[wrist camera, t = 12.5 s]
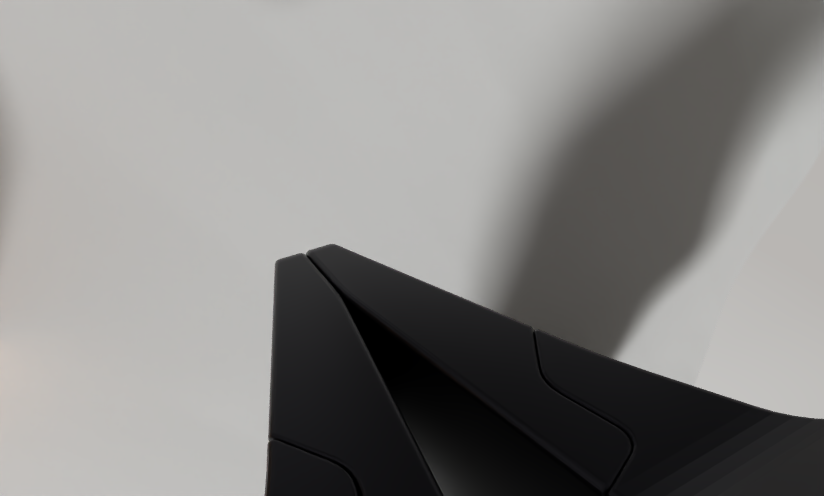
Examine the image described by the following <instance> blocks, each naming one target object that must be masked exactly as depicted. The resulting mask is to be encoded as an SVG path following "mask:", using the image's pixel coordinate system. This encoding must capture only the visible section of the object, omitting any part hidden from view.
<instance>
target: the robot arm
mask: <svg viewBox="0 0 824 496" xmlns="http://www.w3.org/2000/svg"><path fill="white" fill-rule="evenodd" d="M268 439H269V443H268V449H267V474H266V486H265V496H824V419H814V418H806V417H798V416H792V415H787V414H782V413H778V412H773V411H770V410H766V409H763V408H760V407H756V406H753V405H750V404H747V403H744V402H741V401H738V400H734V399H731V398H728V397H725V396H722V395H719V394H716V393H713V392H710V391H707V390H704V389H700V388H697V387H695V386H692V385H689V384H686V383H682V382H679V381H676V380H673V379H670V378H667V377H664V376H661V375H658V374H655V373H652V372H649V371H646V370H643V369H640V368H637V367H634V366H632V365H629V364H626V363H623V362H620V361H617V360H614V359H611V358H609V357H606V356H603V355H600V354H598V353H595V352H593V351H590V350H587V349H585V348H582V347H580V346H577V345H575V344H572V343H570V342H567V341H565V340H562V339H560V338H557V337H555V336H553V335H550V334H548V333H545V332H543V331H541V330H538V329H537V330H535V331H534V332H533V328H532V327H531V326H528V325H526V324H524V323H521V322H519V321H516V320H514V319H512V318H509V317H507V316H504V315H502V314H500V313H497V312H495V311H493V310H490V309H488V308H485V307H483V306H481V305H478V304H476V303H473V302H471V301H469V300H466V299H464V298H462V297H459V296H457V295H454V294H452V293H450V292H447V291H445V290H443V289H440V288H438V287H435V286H433V285H431V284H428V283H426V282H423V281H421V280H419V279H416V278H414V277H412V276H409V275H407V274H404V273H402V272H400V271H397V270H395V269H393V268H390V267H388V266H385V265H383V264H381V263H378V262H376V261H373V260H371V259H369V258H366V257H364V256H362V255H359V254H357V253H354V252H352V251H350V250H347V249H345V248H343V247H340V246H338V245H335V244H329V245H326V246H322V247H319V248H316V249H312V250H309V251H308V252H307V253H306V255H305V254H303V253H299V254H296V255H292V256H289V257H286V258H282V259H279V260H277V261H276V263H275V279H274V305H273V331H272V357H271V383H270V409H269V435H268Z"/></svg>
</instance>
